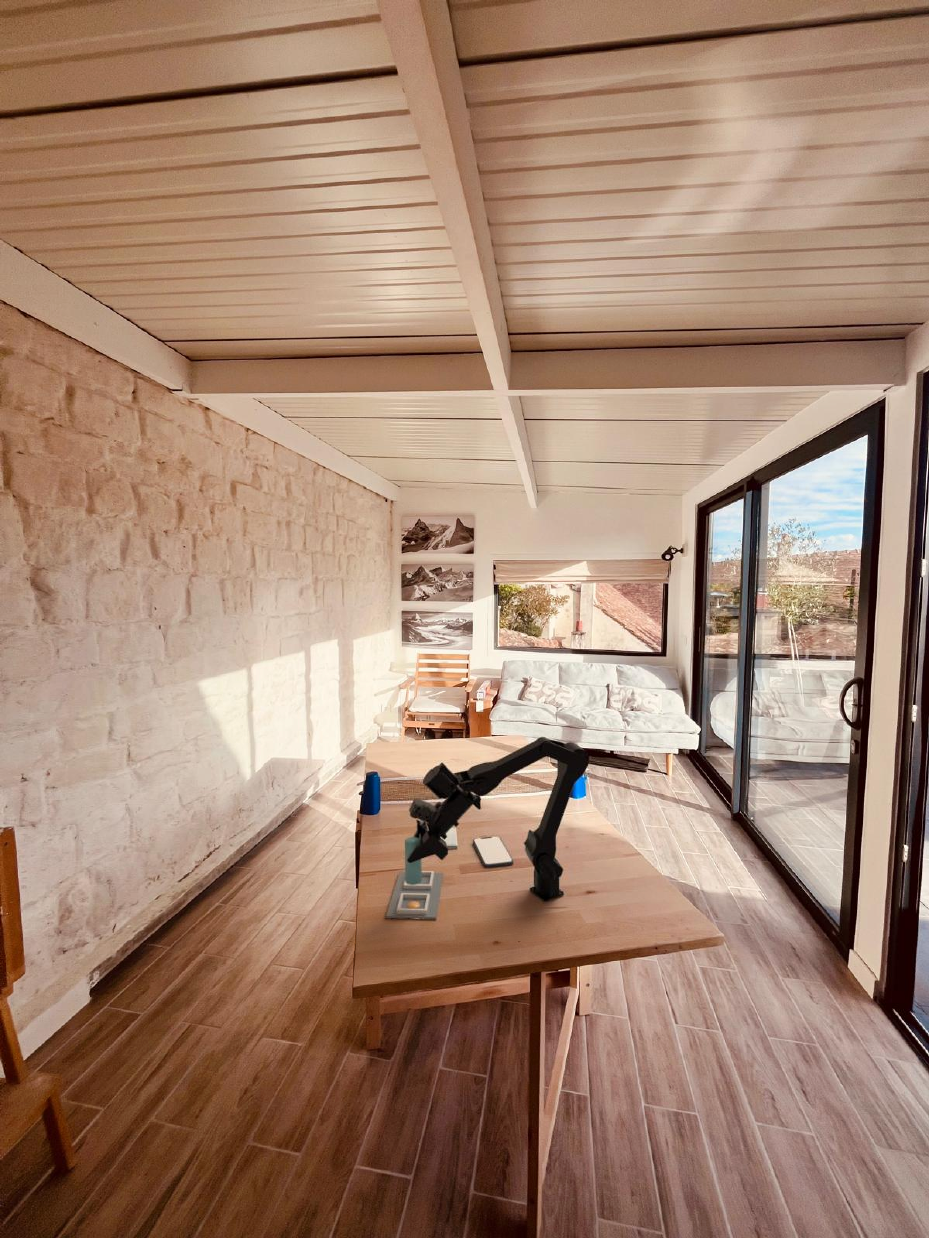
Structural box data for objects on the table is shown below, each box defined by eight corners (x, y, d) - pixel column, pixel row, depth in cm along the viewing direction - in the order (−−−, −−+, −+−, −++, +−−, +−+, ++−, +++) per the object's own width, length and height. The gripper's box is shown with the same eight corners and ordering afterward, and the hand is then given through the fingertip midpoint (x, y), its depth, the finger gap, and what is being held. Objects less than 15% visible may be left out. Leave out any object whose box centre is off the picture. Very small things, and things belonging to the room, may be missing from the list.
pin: (425, 879, 137) (424, 840, 136) (413, 886, 134) (412, 846, 133) (413, 874, 140) (413, 835, 139) (401, 880, 137) (401, 841, 136)
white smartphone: (514, 867, 158) (499, 840, 173) (514, 861, 158) (499, 835, 173) (484, 870, 156) (471, 843, 172) (484, 865, 156) (471, 838, 171)
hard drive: (457, 845, 167) (456, 826, 180) (430, 846, 167) (430, 827, 179) (457, 850, 167) (456, 831, 180) (430, 851, 167) (430, 832, 179)
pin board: (399, 874, 153) (399, 868, 153) (443, 875, 152) (443, 869, 152) (386, 918, 133) (386, 911, 133) (436, 919, 132) (436, 913, 132)
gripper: (424, 775, 145) (382, 820, 144) (433, 803, 127) (385, 855, 126) (454, 802, 147) (413, 847, 146) (467, 834, 129) (420, 885, 127)
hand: (407, 857), depth 136 cm, fingers closed on pin, 4 cm apart
